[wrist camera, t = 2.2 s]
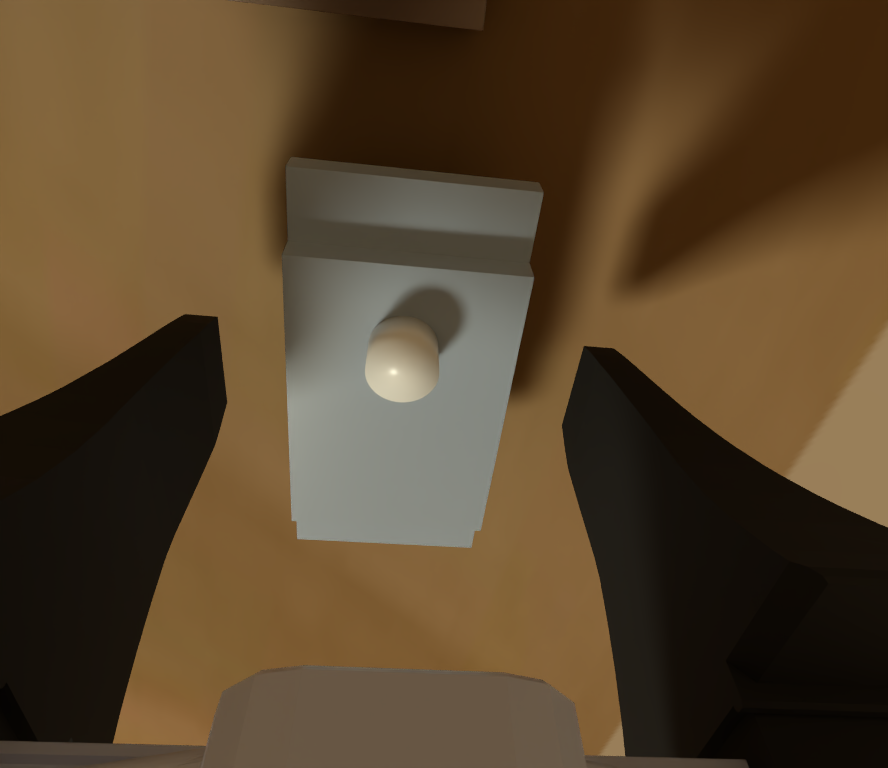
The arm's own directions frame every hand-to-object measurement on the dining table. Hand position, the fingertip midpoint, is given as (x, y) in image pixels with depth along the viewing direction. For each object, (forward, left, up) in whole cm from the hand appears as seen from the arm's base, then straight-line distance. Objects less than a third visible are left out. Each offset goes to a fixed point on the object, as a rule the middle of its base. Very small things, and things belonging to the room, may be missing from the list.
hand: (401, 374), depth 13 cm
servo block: (0, 0, -3) cm, 3 cm away
